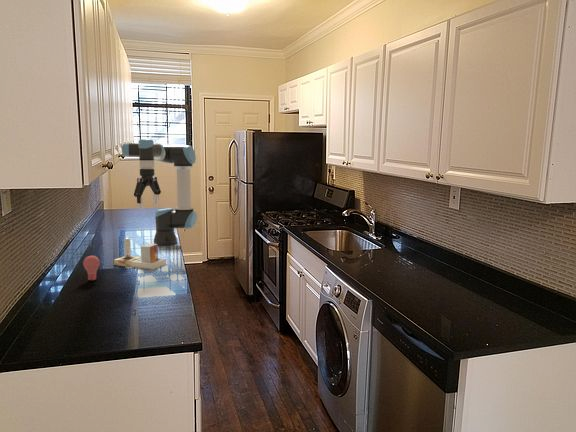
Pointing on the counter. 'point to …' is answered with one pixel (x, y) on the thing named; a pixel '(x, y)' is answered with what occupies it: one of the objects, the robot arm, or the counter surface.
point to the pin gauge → (127, 248)
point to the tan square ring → (125, 261)
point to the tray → (148, 264)
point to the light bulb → (91, 266)
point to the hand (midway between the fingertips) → (148, 207)
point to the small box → (149, 253)
